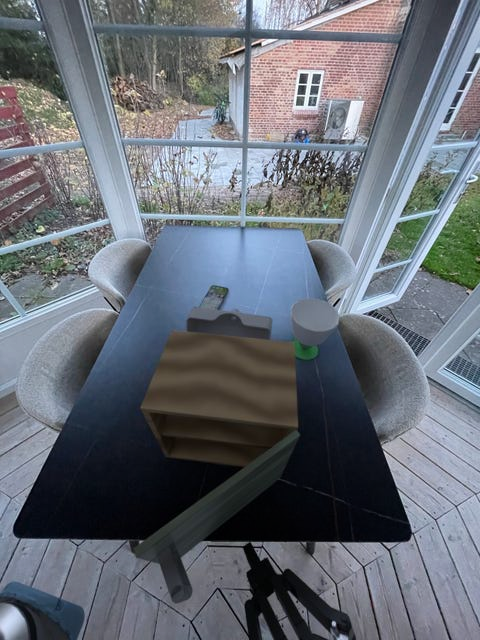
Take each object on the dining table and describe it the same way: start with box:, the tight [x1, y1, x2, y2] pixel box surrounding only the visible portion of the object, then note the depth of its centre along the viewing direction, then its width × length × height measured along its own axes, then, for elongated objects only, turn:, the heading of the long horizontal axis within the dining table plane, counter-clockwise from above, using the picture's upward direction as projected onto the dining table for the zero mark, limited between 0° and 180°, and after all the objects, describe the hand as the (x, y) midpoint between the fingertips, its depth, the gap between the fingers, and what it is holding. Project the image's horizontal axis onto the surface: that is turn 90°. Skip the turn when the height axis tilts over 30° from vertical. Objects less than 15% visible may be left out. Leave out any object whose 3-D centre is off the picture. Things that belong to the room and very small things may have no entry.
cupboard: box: [140, 329, 299, 468], centre depth 59 cm, size 18×26×24 cm
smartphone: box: [198, 284, 229, 310], centre depth 101 cm, size 7×1×15 cm
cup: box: [290, 297, 341, 361], centre depth 80 cm, size 14×14×16 cm
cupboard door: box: [133, 429, 301, 605], centre depth 44 cm, size 7×26×24 cm, turn 124°
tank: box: [185, 306, 273, 340], centre depth 83 cm, size 25×16×12 cm, turn 80°
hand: (249, 551), depth 43 cm, fingers closed
